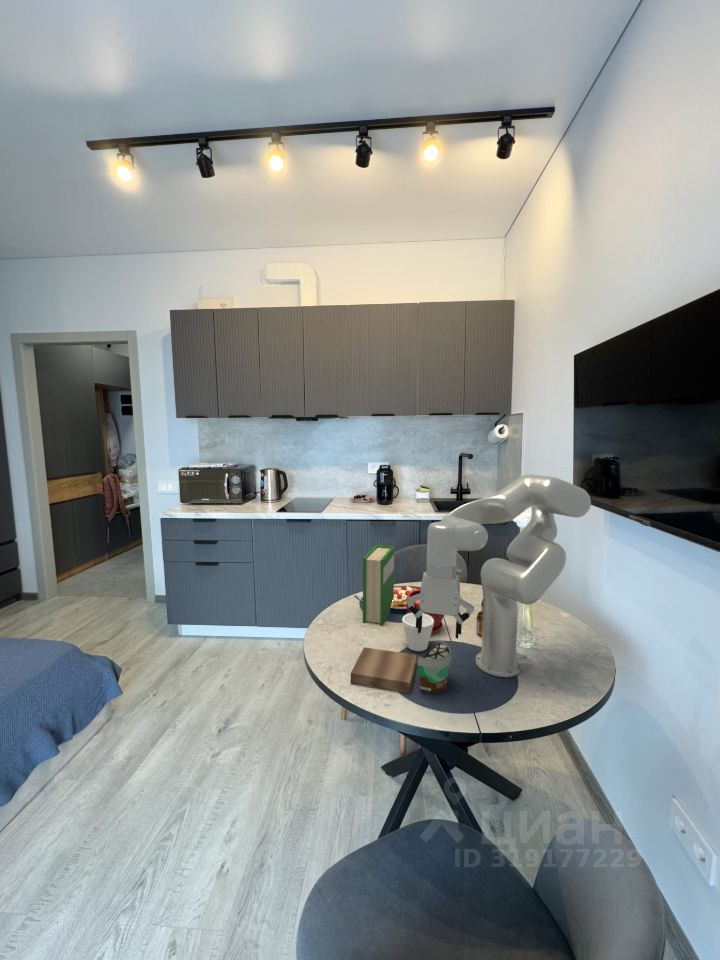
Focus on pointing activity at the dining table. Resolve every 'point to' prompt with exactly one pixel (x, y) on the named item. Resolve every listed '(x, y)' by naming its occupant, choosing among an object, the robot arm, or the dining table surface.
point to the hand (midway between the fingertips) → (438, 633)
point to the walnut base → (384, 670)
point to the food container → (434, 668)
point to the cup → (414, 638)
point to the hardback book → (378, 583)
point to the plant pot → (436, 617)
